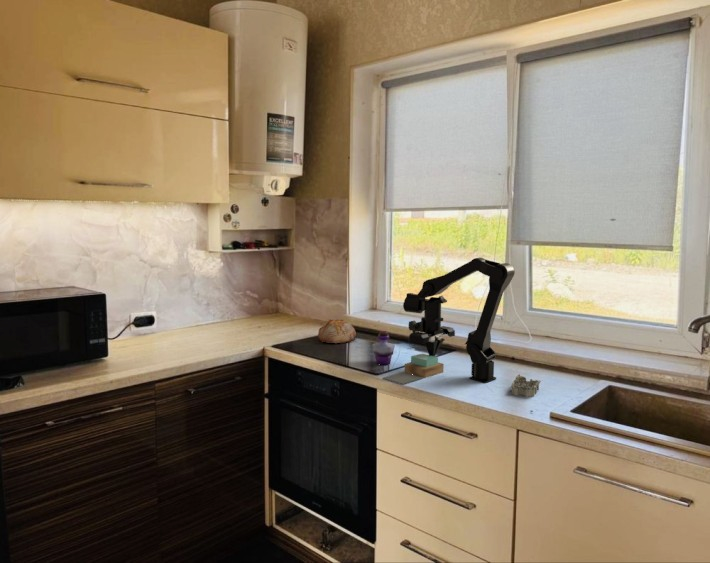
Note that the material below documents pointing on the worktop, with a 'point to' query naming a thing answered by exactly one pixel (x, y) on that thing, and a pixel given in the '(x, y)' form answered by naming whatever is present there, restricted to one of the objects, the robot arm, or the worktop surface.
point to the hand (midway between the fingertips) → (431, 358)
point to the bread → (337, 332)
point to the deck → (423, 369)
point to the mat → (402, 378)
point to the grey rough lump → (524, 386)
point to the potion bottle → (383, 349)
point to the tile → (424, 360)
